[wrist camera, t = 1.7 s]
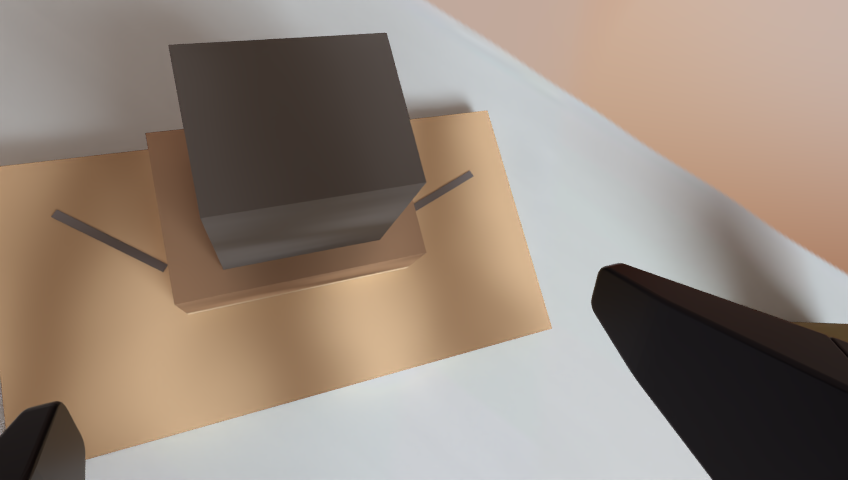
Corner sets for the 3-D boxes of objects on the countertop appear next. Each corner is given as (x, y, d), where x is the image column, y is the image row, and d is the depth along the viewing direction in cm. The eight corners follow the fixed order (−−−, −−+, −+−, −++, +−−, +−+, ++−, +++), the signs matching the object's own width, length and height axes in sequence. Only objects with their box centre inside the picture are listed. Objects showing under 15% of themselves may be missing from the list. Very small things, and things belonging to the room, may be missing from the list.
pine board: (478, 120, 24) (487, 110, 23) (540, 330, 22) (552, 328, 21) (-7, 179, 18) (-23, 168, 17) (26, 474, 16) (10, 480, 15)
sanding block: (374, 140, 21) (434, 4, 13) (406, 268, 20) (491, 202, 13) (162, 166, 19) (85, 18, 11) (188, 314, 18) (123, 268, 10)
